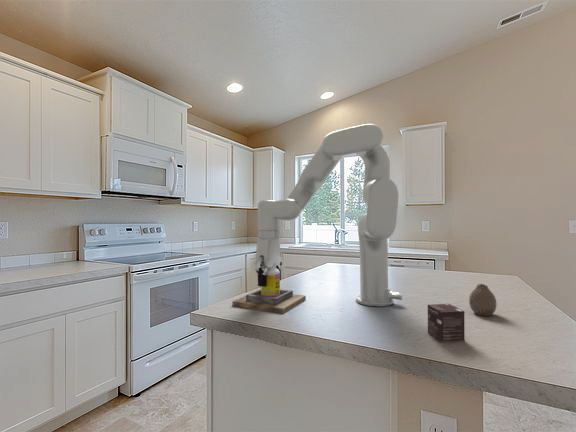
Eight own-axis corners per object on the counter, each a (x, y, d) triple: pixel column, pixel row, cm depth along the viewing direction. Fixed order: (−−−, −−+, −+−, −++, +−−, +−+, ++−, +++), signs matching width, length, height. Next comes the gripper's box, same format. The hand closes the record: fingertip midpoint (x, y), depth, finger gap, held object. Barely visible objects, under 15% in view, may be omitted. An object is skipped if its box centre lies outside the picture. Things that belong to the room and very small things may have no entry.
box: (427, 333, 76) (426, 304, 76) (449, 332, 77) (449, 303, 77) (441, 343, 70) (440, 311, 70) (465, 341, 71) (465, 310, 71)
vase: (492, 311, 92) (491, 283, 92) (500, 318, 86) (499, 288, 86) (467, 309, 95) (466, 281, 95) (472, 316, 88) (472, 286, 88)
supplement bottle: (277, 301, 102) (277, 263, 102) (258, 300, 104) (258, 263, 104) (281, 296, 109) (281, 260, 109) (264, 295, 110) (263, 260, 110)
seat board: (305, 299, 109) (305, 290, 109) (283, 313, 94) (283, 302, 94) (259, 294, 118) (259, 285, 118) (232, 305, 103) (232, 295, 103)
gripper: (272, 233, 116) (273, 278, 116) (246, 236, 100) (246, 287, 100) (289, 233, 112) (290, 279, 112) (265, 236, 97) (265, 289, 97)
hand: (269, 283), depth 106 cm, fingers open, 9 cm apart
